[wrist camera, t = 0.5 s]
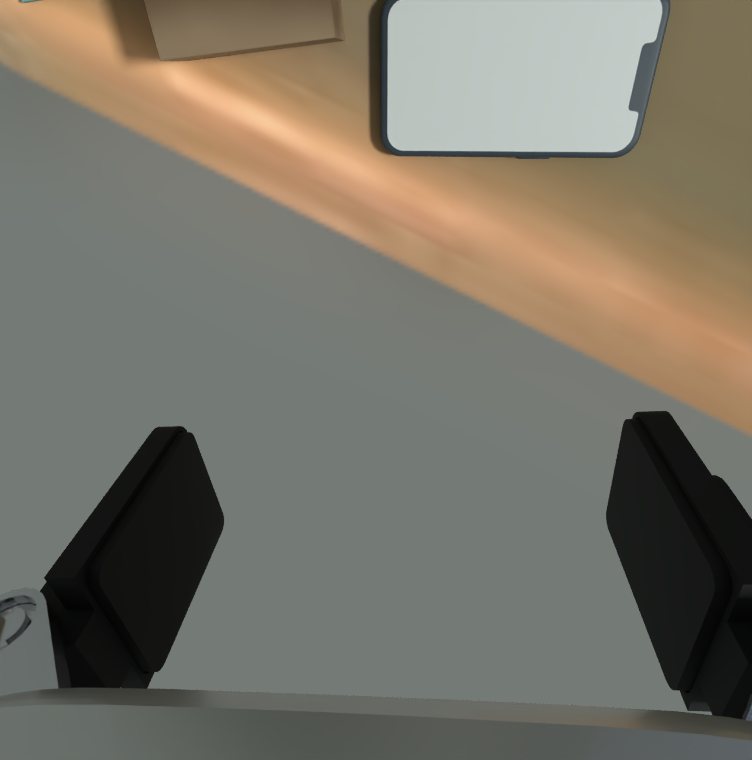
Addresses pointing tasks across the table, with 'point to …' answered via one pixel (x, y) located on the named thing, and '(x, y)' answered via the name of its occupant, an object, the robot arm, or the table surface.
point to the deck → (240, 26)
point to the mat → (29, 0)
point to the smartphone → (517, 76)
